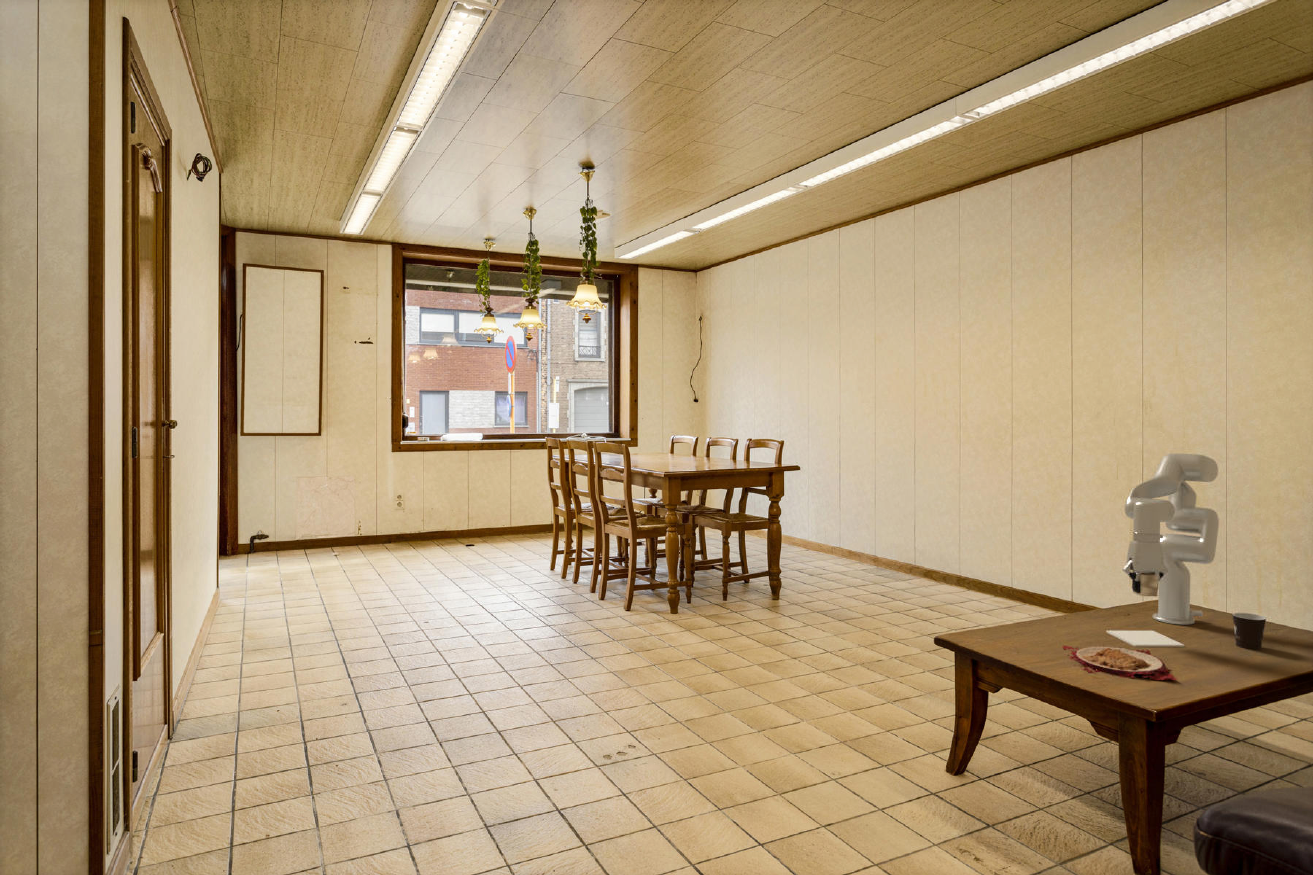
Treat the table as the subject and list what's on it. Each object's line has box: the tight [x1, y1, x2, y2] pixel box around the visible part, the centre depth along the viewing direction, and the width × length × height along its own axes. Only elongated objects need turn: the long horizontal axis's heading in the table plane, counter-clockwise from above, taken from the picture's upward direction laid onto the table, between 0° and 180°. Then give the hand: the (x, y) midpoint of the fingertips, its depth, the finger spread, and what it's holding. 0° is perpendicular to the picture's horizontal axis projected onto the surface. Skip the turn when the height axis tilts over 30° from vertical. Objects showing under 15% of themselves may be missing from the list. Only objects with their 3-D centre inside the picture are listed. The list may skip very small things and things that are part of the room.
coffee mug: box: [1232, 612, 1267, 651], centre depth 250 cm, size 12×9×10 cm
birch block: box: [1132, 572, 1159, 597], centre depth 257 cm, size 5×5×7 cm
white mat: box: [1106, 630, 1185, 648], centre depth 258 cm, size 16×16×1 cm
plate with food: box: [1062, 645, 1178, 681], centre depth 233 cm, size 25×26×4 cm
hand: (1145, 591), depth 257 cm, fingers closed on birch block, 5 cm apart
